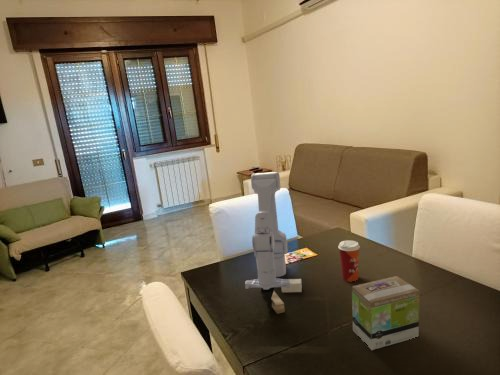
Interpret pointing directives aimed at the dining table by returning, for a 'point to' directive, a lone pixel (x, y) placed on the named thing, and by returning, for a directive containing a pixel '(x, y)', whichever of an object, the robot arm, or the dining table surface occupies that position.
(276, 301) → the leg
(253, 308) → the dining table surface
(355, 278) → the paper cup
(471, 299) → the dining table surface
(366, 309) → the tea box
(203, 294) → the dining table surface
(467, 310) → the dining table surface
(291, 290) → the block
